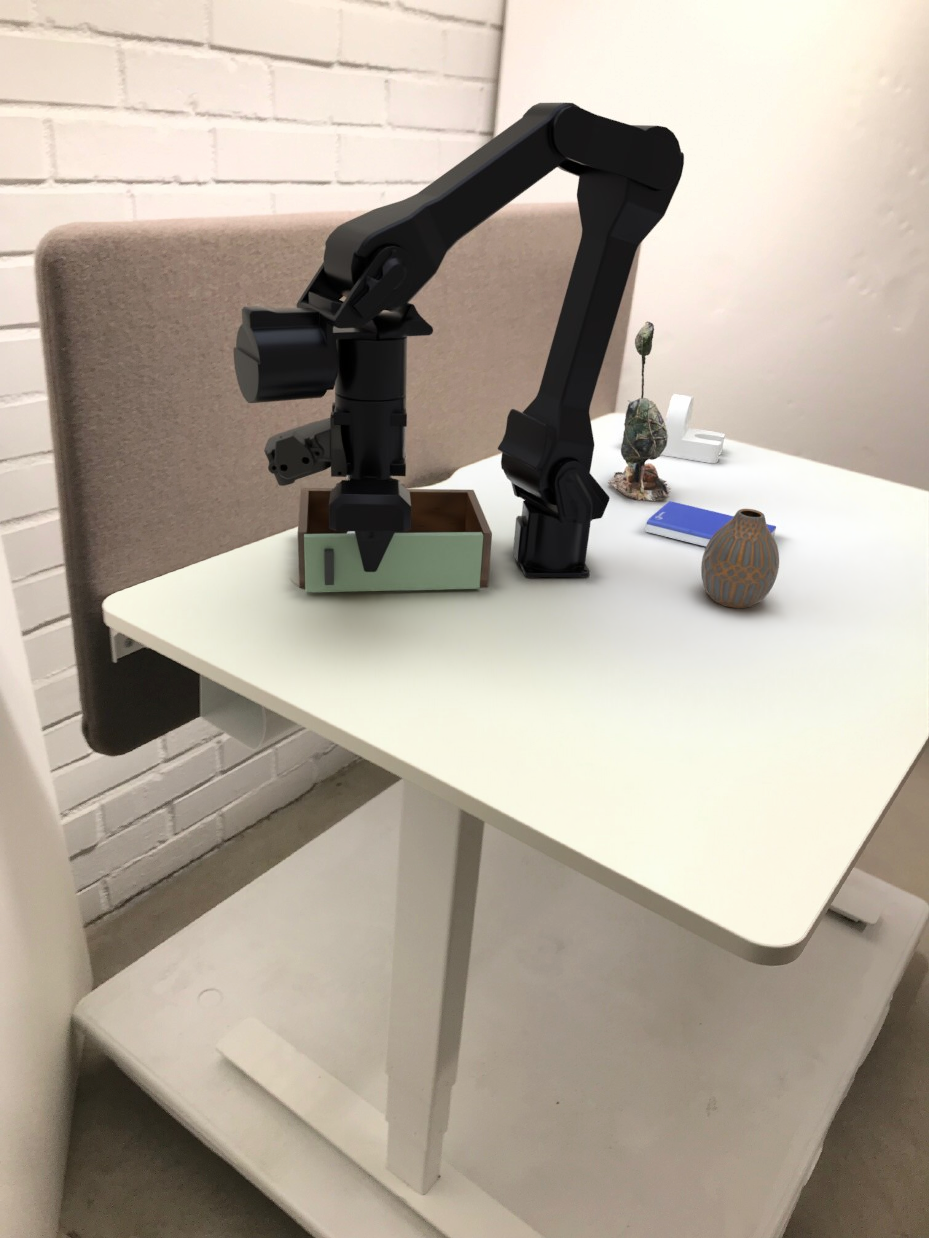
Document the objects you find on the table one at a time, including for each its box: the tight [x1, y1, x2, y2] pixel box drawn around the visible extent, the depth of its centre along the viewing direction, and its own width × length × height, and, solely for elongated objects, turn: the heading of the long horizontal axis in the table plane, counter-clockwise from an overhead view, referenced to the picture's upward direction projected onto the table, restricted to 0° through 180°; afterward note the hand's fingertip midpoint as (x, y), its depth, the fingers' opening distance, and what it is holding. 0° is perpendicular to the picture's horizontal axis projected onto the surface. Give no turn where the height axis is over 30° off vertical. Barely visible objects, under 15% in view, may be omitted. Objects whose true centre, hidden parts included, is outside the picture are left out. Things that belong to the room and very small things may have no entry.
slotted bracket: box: [660, 393, 726, 464], centre depth 128 cm, size 13×7×8 cm, turn 69°
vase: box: [700, 508, 780, 609], centre depth 84 cm, size 7×7×9 cm
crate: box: [297, 487, 493, 589], centre depth 88 cm, size 18×12×6 cm
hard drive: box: [644, 500, 777, 547], centre depth 100 cm, size 2×8×12 cm
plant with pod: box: [607, 320, 671, 502], centre depth 108 cm, size 8×11×20 cm
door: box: [304, 532, 483, 593], centre depth 82 cm, size 16×2×5 cm, turn 100°
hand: (370, 570), depth 80 cm, fingers closed
